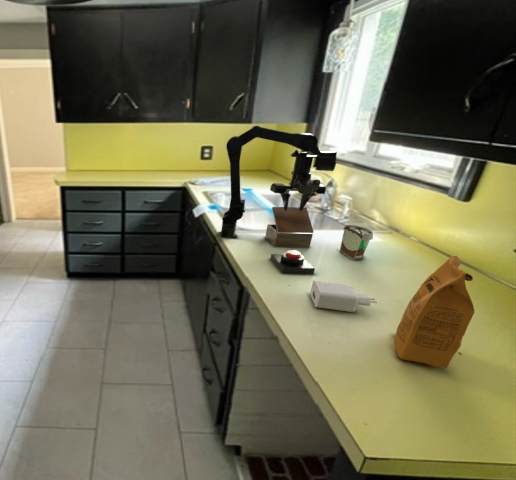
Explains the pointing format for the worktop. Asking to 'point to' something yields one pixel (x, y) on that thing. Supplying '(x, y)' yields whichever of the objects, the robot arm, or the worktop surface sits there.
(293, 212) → the lid
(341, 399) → the worktop surface
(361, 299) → the charger
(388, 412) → the worktop surface
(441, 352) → the coffee package
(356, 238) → the food container
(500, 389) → the worktop surface
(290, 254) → the button
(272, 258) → the button box
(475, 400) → the worktop surface
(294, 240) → the chest
